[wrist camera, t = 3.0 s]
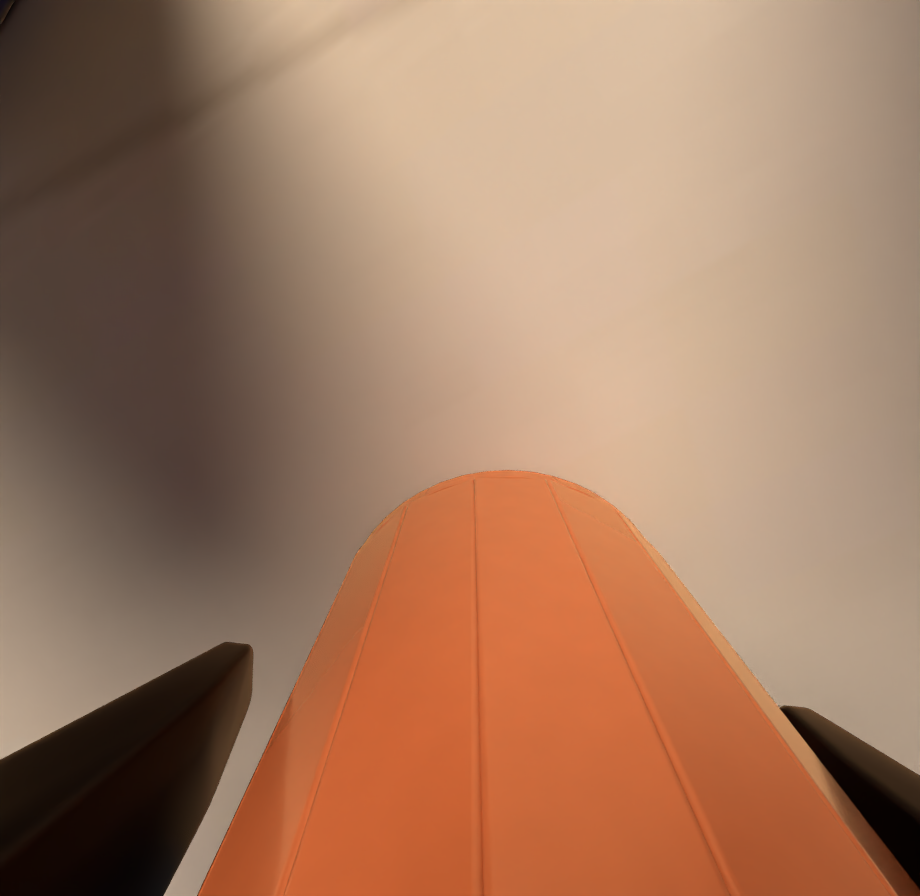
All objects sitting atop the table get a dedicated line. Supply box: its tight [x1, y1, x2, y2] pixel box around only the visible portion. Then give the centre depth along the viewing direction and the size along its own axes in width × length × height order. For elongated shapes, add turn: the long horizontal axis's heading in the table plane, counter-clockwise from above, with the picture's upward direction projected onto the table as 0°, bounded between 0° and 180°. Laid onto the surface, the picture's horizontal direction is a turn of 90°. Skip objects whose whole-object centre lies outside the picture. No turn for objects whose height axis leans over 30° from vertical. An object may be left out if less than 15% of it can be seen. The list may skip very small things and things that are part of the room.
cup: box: [197, 470, 920, 896], centre depth 7 cm, size 6×6×8 cm
